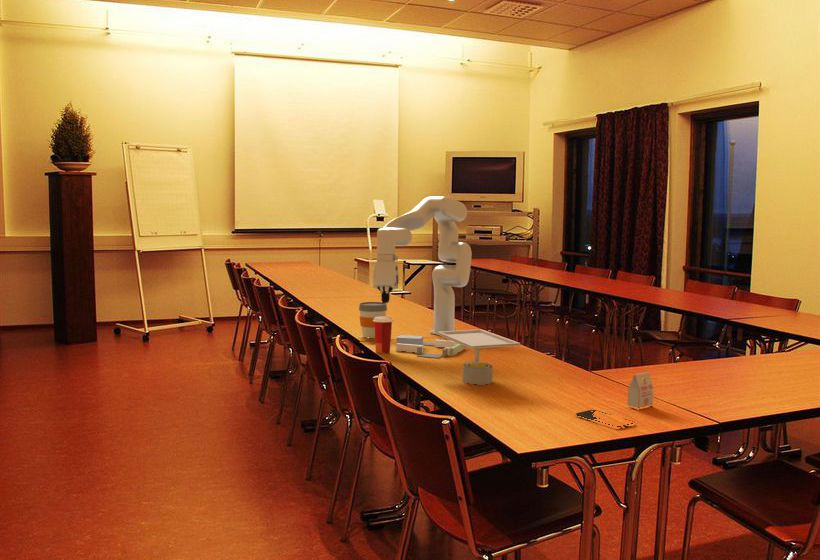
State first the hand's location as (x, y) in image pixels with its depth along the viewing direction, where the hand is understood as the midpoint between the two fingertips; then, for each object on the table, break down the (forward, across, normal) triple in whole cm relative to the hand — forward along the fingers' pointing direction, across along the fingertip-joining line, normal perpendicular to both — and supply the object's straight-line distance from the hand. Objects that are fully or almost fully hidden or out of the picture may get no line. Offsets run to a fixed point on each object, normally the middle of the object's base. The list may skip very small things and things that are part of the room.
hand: (385, 302), depth 296 cm
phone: (+19, -97, +73) cm, 123 cm away
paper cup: (+19, -4, +12) cm, 22 cm away
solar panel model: (+19, -52, +44) cm, 71 cm away
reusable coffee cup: (+18, +14, -18) cm, 30 cm away
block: (+19, -11, 0) cm, 22 cm away
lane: (+18, -20, 0) cm, 27 cm away
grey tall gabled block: (+19, -105, +55) cm, 120 cm away
